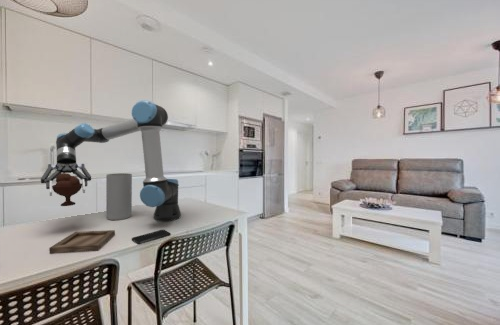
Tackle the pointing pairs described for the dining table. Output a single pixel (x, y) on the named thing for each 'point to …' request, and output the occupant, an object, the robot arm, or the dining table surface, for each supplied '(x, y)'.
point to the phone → (150, 237)
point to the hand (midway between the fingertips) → (68, 192)
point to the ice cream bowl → (67, 187)
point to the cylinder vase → (118, 196)
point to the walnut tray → (83, 241)
